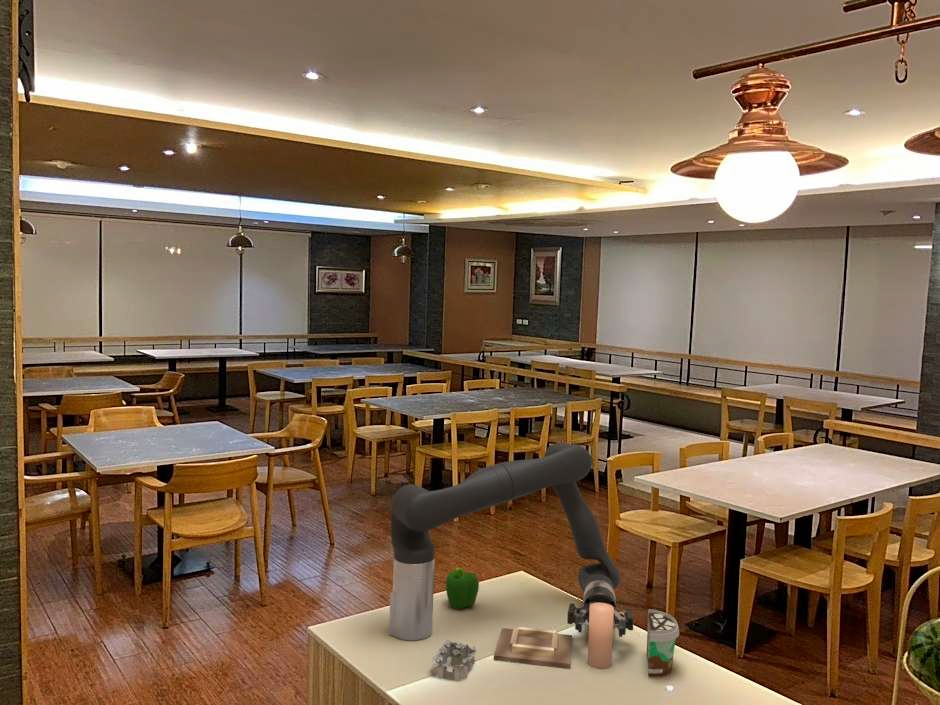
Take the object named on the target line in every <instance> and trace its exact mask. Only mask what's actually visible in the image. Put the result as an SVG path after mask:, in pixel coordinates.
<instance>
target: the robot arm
mask: <svg viewBox="0 0 940 705" xmlns="http://www.w3.org/2000/svg"><path fill="white" fill-rule="evenodd" d="M592 458H593V457H592V455H591V454H590V452H589V451H588V450H587V449H586V448H585V447H584V446H581V445H579V444H576V443H566V442H556V443H553V444H550V445H549V446H548V447H547V449H546V450H545V452H544V455H543V457H537V458H532V459H531V458H530V459H519V460H512V461H511V460H509V461H504V462H499V463H496V464H492V465H489V466H486V467H482V468H480V469H477V470H476V471H474V472H473V473H472V474H470V475H469V476H468V477H466V478H465V479H464V480H463V481H462V482H460V483H458V484H456V485H453V486H449V487H445V488H442V489H435V490H428V489H426V488H423V487H422V486H420V485H418V484H417V485H416V484H405V485H404V486H401V488H399V489H398V490H397V491H396V492H395V494H394V495H393V498H392V501H391V506H390V538H391V545H392V549H393V572H392V573H393V577H392V591H391V592H390V594H389V618H388V619H389V621H388V622H389V624H388V625H389V626H388V635H389V636H394V637H395V638H397V639H399V640H404V641H420V640H423V639H427V638H429V637H430V636H431V635H432V633H433V623H434V618H433V616H434V615H433V614H434V589H435V588H434V585H435V582H434V581H435V556H436V555H435V554H436V552H435V544H434V543H433V541H432V538H431V536H430V532H429V531H431V530H433V529H436V528H438V527H441V526H443V525H445V524H447V523H448V522H451V521H454V520H455V519H458V518H461V517H463V516H465V515H468V514H469V515H470V514H471V513H472V514H473V513H476V512H480V511H482V510H485V509H489V508H492V507H496V506H499V505H501V504H505V503H508V502H511V501H513V500H516V499H518V498H519V499H520V498H522V497H524V496H527V495H529V494H530V495H531V494H533V493H537V492H538V491H540V490H542V489H546V488H550V487H553V488H554V492H555V493H556V495H557V497H558V500H559V502H560V505H561V506H562V508H563V511H564V514H565V517H566V519H567V522H568V525H569V528H570V530H571V534H572V539H573V541H574V545H575V548H576V551H577V555H578V556H579V557H580V559H583V560H595V561H598V562H596V563H592V564H586V565H583V566H581V568H580V569H579V570H578V574H577V580H578V584H579V587H580V589H582V591H583V598H582V599H583V600H582V604H583V605H582V606H581V607H577V606H576V604H575V603H569V605H568V609H567V619H566V620H567V621H566V622H567V625H573V624H575V626H574V630H575V631H578V634H579V633H580V634H582V632H583V627H582V626H589V612H590V605H591V604H592V603H606V604H609V605H611V606H613V607H614V617H613V629H617V630H618V631H617V632H618V637H619V638H623V636H625V635H626V634H627V632H626V631H627V630H628V631H634V621H635V618H634V616H633V612H632V609H630V608H625V610H624V611H620V610H619V609H618V608H617V599H616V594H615V590H614V589H617V588H618V587H619V586H620V583H621V574H620V571H619V569H618V567H617V566H616V564H615V562H614V561H613V559H612V558H611V556H610V555H609V553H608V551H607V549H606V546H605V543H604V540H603V536H602V534H601V530H600V526H599V524H598V522H597V519H596V517H595V515H594V513H593V511H592V510H591V508H590V507H589V505H588V504H587V502H586V501H585V499H584V497H583V495H582V493H581V492H580V491H581V490H580V489H579V487H578V484H577V482H578V481H581V480H583V479H584V478H585V477H586V476H587V475H588V474H589V472H590V471H591V468H592V465H593V459H592Z"/></svg>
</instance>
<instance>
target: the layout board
mask: <svg viewBox="0 0 940 705" xmlns="http://www.w3.org/2000/svg"><path fill="white" fill-rule="evenodd" d="M572 646H573V635H572V634H567V633H566V634H565V633H558V632H557V630H555V629H554V630H552V629H551V630H550V629H543V628H533V627H532V628H531V627H524V626H516V628H507V627H502V628H501V629H500V633H499V636H498V640H497V644H496V647H495V650H494V654H493V661H498V660H500V661H499V662H507V661H510V663H515V662H519V663H518V664H524V663H526V664H525V665H533V664H534V666H535V665H536V666H542V667H544V666H545V667H553V668H562V669H569V670H570V669H571V664H572V663H571V661H572V648H573V647H572Z"/></svg>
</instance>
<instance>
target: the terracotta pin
mask: <svg viewBox="0 0 940 705" xmlns="http://www.w3.org/2000/svg"><path fill="white" fill-rule="evenodd" d="M613 617H614V607H613V606H611V605H609V604H606V603H592V604H591V605H590V612H589V625H588V638H587V639H588V640H587V664H588V665H589V666H590V667H591V668H595V669H599V670H603V669H608V668H611V666H612V662H613V661H612V660H613V659H612V658H613V640H614V639H613V636H614V634H613V633H614V628H613Z"/></svg>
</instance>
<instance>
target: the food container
mask: <svg viewBox="0 0 940 705" xmlns="http://www.w3.org/2000/svg"><path fill="white" fill-rule="evenodd" d="M646 633H647V634H646V665H647V666H646V667H647V677H648V678H650V677H651V678H657V677H658V678H660V677H664V676H665V677H666V676H669V674H671V673H672V670H673V661H674V655H675V644H676V639H677V638H678V637H679V636H680V629H679V625H678V622H677V620H676V618H674V617H673V615H671V614H668V613H666V612H663V611H660V610H657V609H650V608H648V610H647V631H646Z"/></svg>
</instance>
